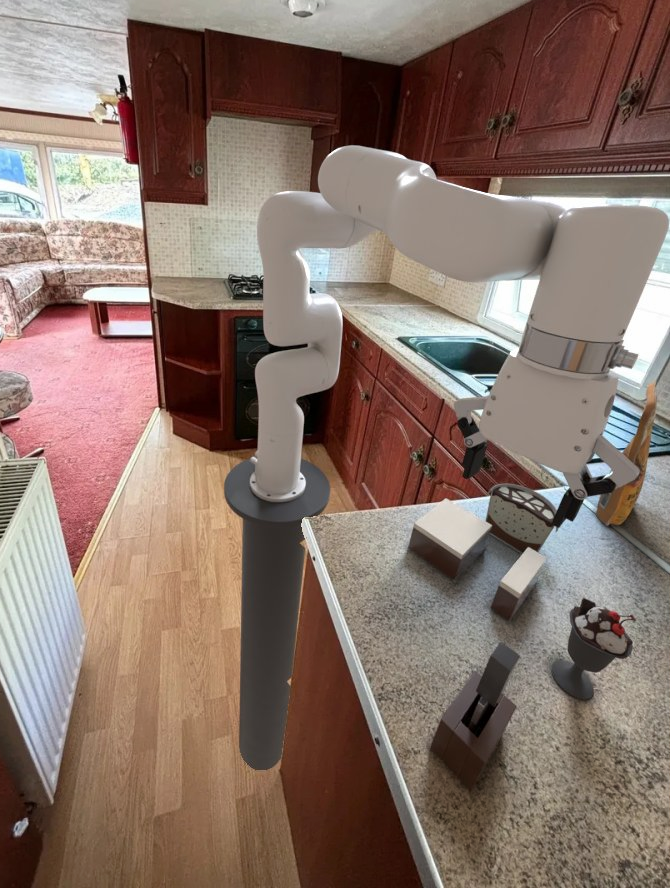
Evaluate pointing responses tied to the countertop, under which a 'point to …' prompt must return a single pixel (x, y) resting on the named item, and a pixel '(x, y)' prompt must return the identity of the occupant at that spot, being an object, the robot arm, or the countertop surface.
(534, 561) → the cake slice
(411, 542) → the cake
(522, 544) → the ice cream dessert
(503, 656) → the knife
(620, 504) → the pancake mix bag
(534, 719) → the countertop surface
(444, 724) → the knife block
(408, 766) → the countertop surface
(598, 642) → the sundae
